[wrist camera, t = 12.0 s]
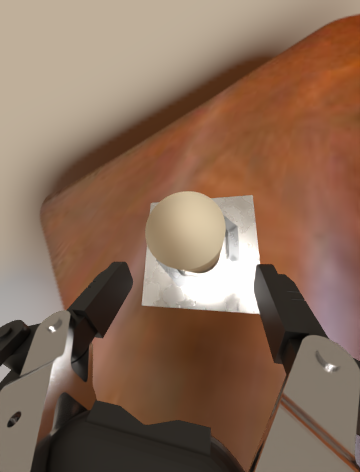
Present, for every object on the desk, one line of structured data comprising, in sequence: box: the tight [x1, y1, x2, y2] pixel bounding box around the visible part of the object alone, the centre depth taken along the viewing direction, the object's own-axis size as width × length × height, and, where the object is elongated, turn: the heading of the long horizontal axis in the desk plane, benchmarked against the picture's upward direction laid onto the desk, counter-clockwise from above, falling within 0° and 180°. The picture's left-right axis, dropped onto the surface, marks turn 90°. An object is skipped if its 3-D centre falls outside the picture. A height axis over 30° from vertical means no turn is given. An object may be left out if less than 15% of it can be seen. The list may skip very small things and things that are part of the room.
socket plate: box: [142, 195, 260, 314], centre depth 19 cm, size 14×14×4 cm
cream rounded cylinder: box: [145, 191, 226, 274], centre depth 14 cm, size 5×5×10 cm
